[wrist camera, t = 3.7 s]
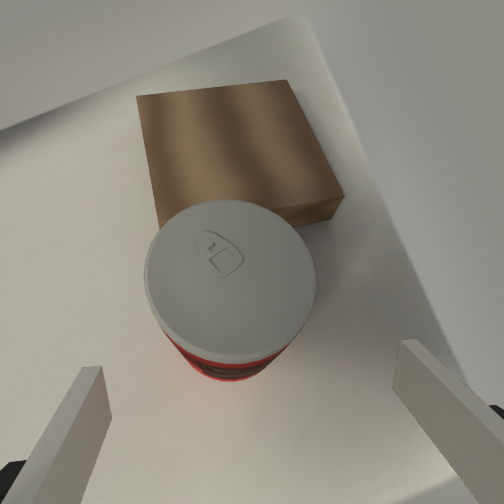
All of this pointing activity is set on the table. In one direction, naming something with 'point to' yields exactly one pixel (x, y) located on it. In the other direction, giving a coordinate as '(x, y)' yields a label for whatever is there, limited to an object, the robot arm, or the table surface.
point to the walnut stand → (236, 152)
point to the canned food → (229, 286)
